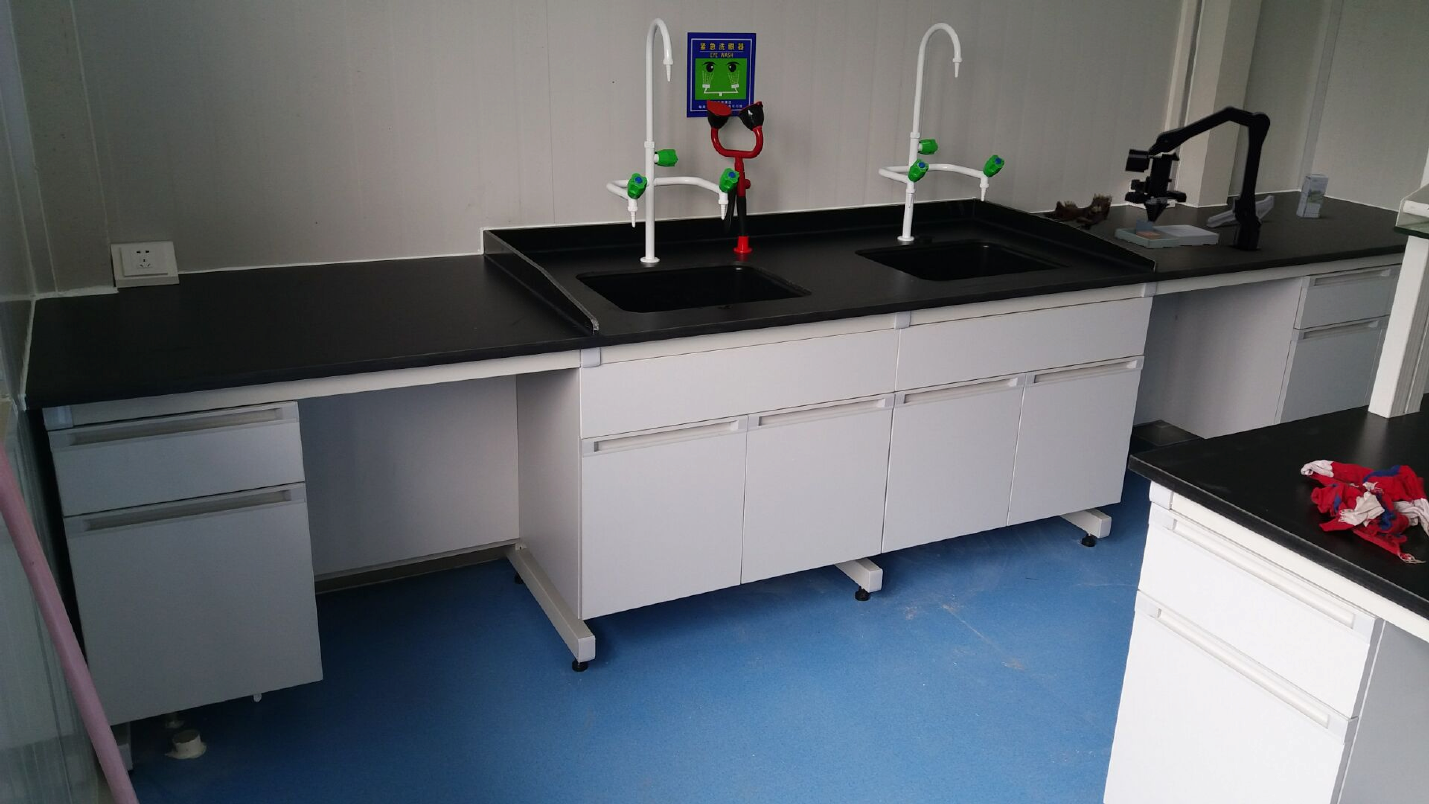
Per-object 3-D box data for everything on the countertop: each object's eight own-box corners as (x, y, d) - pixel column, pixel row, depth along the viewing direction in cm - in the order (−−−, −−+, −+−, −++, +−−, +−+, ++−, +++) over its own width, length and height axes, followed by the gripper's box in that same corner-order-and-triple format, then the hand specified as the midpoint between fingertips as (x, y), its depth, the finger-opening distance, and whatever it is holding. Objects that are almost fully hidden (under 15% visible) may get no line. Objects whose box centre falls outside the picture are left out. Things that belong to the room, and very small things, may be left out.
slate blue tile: (1153, 221, 334) (1146, 222, 333) (1151, 237, 336) (1144, 238, 335) (1143, 218, 338) (1136, 219, 338) (1141, 234, 340) (1134, 234, 340)
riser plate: (1217, 244, 333) (1219, 234, 332) (1176, 246, 329) (1178, 236, 328) (1186, 234, 345) (1187, 224, 344) (1146, 236, 341) (1148, 226, 340)
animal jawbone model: (1132, 232, 358) (1140, 204, 353) (1076, 244, 348) (1084, 215, 343) (1094, 212, 371) (1101, 185, 365) (1039, 223, 361) (1046, 194, 355)
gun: (1272, 217, 367) (1274, 195, 364) (1209, 240, 356) (1211, 217, 353) (1267, 216, 369) (1269, 194, 365) (1204, 239, 358) (1206, 216, 354)
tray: (1177, 247, 328) (1179, 238, 327) (1147, 248, 325) (1149, 240, 324) (1143, 235, 342) (1145, 227, 341) (1114, 236, 339) (1115, 229, 338)
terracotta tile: (1146, 235, 328) (1144, 243, 329) (1160, 234, 329) (1159, 242, 330) (1136, 231, 332) (1134, 239, 333) (1150, 231, 333) (1148, 239, 334)
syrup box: (1312, 215, 379) (1322, 173, 374) (1319, 218, 374) (1329, 176, 368) (1295, 214, 380) (1304, 172, 374) (1302, 218, 374) (1311, 175, 369)
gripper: (1168, 169, 341) (1159, 218, 346) (1117, 170, 335) (1109, 220, 341) (1192, 175, 331) (1182, 225, 337) (1140, 176, 326) (1131, 228, 331)
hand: (1150, 224), depth 337 cm, fingers closed
